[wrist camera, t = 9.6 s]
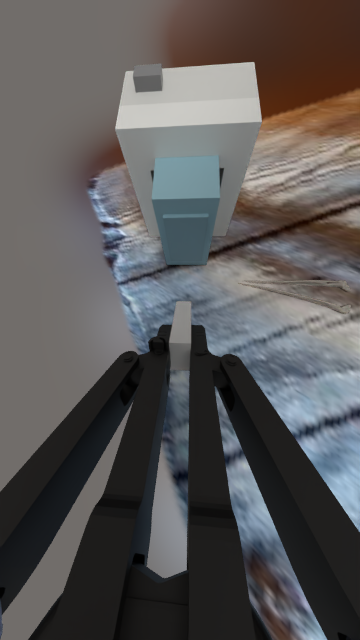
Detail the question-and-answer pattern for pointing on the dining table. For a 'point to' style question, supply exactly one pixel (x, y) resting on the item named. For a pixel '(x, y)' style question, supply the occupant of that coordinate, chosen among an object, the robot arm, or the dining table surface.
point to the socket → (189, 126)
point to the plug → (186, 206)
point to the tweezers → (339, 284)
